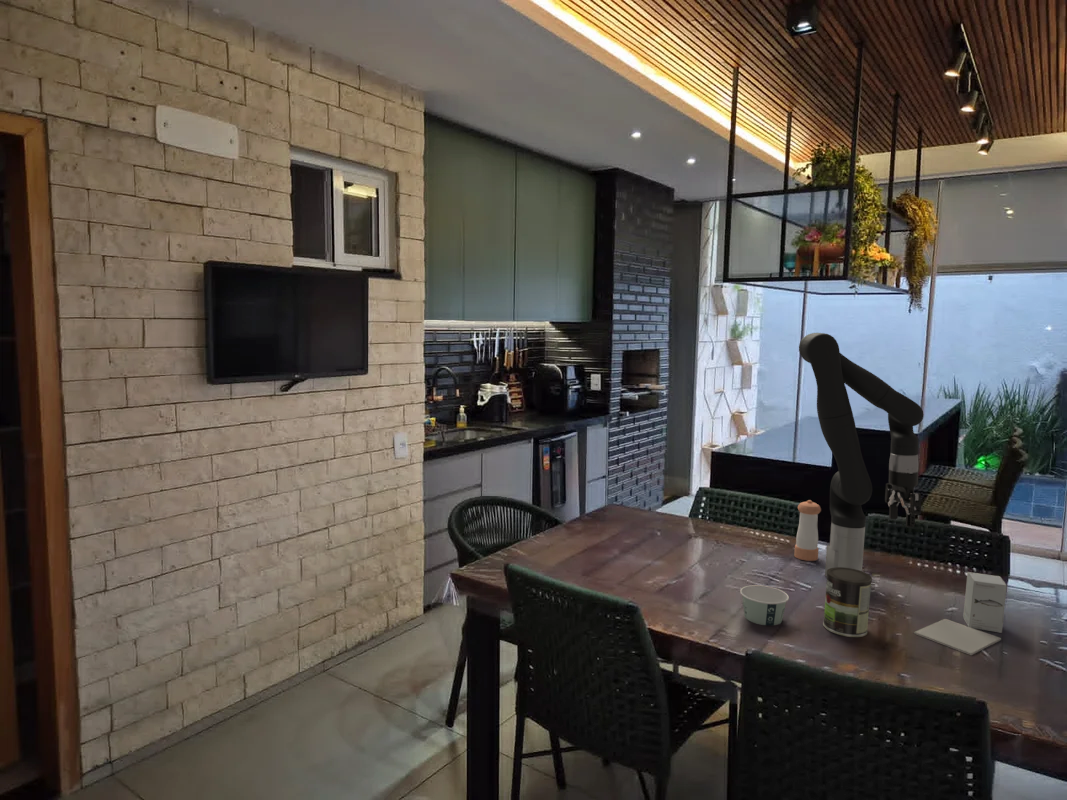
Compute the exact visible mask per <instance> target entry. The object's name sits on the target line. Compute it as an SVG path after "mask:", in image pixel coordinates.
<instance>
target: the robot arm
mask: <svg viewBox="0 0 1067 800" xmlns="http://www.w3.org/2000/svg"><path fill="white" fill-rule="evenodd" d="M798 352H799V354H800V356H801V358H802V359H803V360H804V361H805V362H807V363H808V364H810V366H811V368H812V372H813V375H814V378H815V383H816V390H817V391H816V413H817V418H818V421H819V426H820V429H821V433H822V435H823V437H824V440H825V441H826V444H827V446H828V448H829V450H830V451H831V453H832V454H833V456H834V459H835V462H836V465H837V470H838V471H837V472H835V473H834V474H833V476H832V478H831V481H830V488H829V512H830V516H831V519H830V520H831V521H830V523H831V524H830V535H829V545H826V555H825V567H824V568H825V569H824V576H825V577H826V578H827V570H828V569H830V568H835V567H844V568H852V569H856V570H860V571H862V572H863V561H864V559H863V558H864V549H865V546H864V545H865V535H866V524H867V523H866V521H867V520H866V516H865V514H864V512H863V511H864V510H863V509H862V505H864V504H866V503H867V502H868V501H870V499H871V497H872V494H873V484H872V481H871V478H870V475H869V473H868V470H867V467H866V464H865V461H864V458H863V455H862V451H861V445H860V441H859V440H860V439H859V436H858V433H857V432H858V431H857V429H856V428H857V427H856V422H855V417H854V414H853V409H852V407H851V402H850V397H849V394H848V390H847V387H846V386H848V387H849V388H850V389H851V390H852V391H854V392H855V393H856V394H858V395H860V397H862V398H863V399H864V400H866V401H867V402H869V404H871V405H873V406H874V407H876V408H879V409H881V410H883V411H884V412H885V413H887V421H888V428H889V433H890V439H891V440H890V456H889V461H888V462H889V463H888V482H887V483H885V491H884V502H885V503H887V505H888V508H889V510H888V511H889V514H888V515H889V516H888V517H889V519H891V520H897V519H898V518H899V517H898V514H899V504H901V506H902V508H904V510H905V513H906V515H905V516H906V517H905V526H906V528H910V529H911V528H915V526H916V515H921V514H922V494H921V493H917V492H915V491H914V488H916V487H917V486H918V484H919V462H920V461H919V439H918V436H917V435H916V433H915V431H914V427H916V426H918V425H919V424H921V423H922V422H923V420H924V415H925V414H924V410H923V408H922V406H920V405H919V404H918V403H916V402H915V401H914V400H912V399H911V398H909V397H908V396H906V395H904V394H903V393H901V392H899V391H897V390H896V389H894V388H893V387H892V386H891V385H889V384H888V383H887V382H885V381H884V380H883V379H881V378H880V377H879V376H877V375H875V374H874V373H873V372H871V371H869V370H868V369H865V368H864V367H862V366H860V365H858V364H857V363H856V362H854V361H852V360H851V359H849V358H848V357H847V356H845V355H843V354H842V353H841V351H840V347H839V343H838V341H837V339H835V337H834V336H833V335H831V334H828V333H824V332H812V333H808V334H806V335H805V336H804V337H803V338H801V340H800V341H799V344H798Z"/></svg>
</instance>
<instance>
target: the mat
mask: <svg viewBox="0 0 1067 800" xmlns="http://www.w3.org/2000/svg"><path fill="white" fill-rule="evenodd" d="M913 633H914V635H916V636H919V637H922V638H924V639H927V640H930V641H932V642H935V643H938V644H941V645H944V646H945V647H949V648H951V649H953V650H956V651H959V652H961V653H964V654H967V655H969V656H973V655H975V654H976V653H979V652H980V651H982V650H985V649H986V648H988V647H990V646H993V645H994V644H996V643H998V642H1000V641H1001V640H1002V637H999V636H997V635H993V634H990V633H987V632H985V631H982V630H980V629H975V628H970V627H968V625H964V624H961V623H958V622H956V621H953V620H950V619H947V618H943V619H941V620H939V621H936V622H934V623H931V624H930V625H927V626H925V627H923V628H920V629H918V630H916V631H914V632H913Z"/></svg>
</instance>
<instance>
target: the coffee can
mask: <svg viewBox="0 0 1067 800" xmlns="http://www.w3.org/2000/svg"><path fill="white" fill-rule="evenodd" d="M872 581H873V577H872V576H871V575H870V574H869V573H866V572H865V571H863V570H862V571H860V570H856V569H852V568H844V567H835V568H830V569H828V570H827V577H826V583H825V584H826V585H825V598H824V612H823V622H822V625H823V627H824V628H825V629H826V630H827V631H829V633H830V632H831V633H833V634H835V635H839V636H842V637H847V638H861V637H865V636H867V635H868V625H869V612H870V599H871V591H872V590H871V589H872Z"/></svg>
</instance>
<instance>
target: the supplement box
mask: <svg viewBox="0 0 1067 800" xmlns="http://www.w3.org/2000/svg"><path fill="white" fill-rule="evenodd" d="M966 573H967V576H966V585H965V595H964V605H963V606H964V607H963V614H962V615H963V616H962V618H963V619H964V621H965V623H966V626H968V627H970V628H973V629H976V630H981V631H982V630H983V631H989V632H993V633H994V632H995V633H999V634H1002V633H1003V626H1004V625H1003V624H1004V617H1005V616H1004V615H1005V606H1006V596H1007V587H1008V586H1007V583H1006V582H1005V581H1004V579H1003V578H1002V577H1001V576H999V575H991V574H986V573H977V572H971V571H967V572H966Z"/></svg>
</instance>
